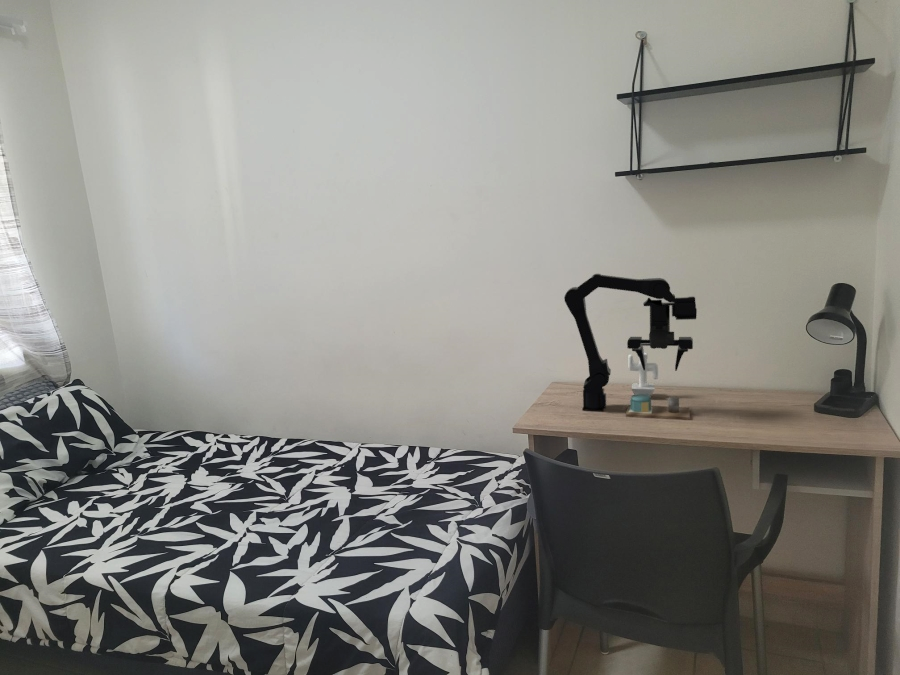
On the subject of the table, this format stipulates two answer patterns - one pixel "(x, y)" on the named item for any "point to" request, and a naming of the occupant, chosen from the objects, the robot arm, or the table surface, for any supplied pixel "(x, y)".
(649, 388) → the figurine
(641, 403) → the cap
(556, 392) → the table surface
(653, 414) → the board
